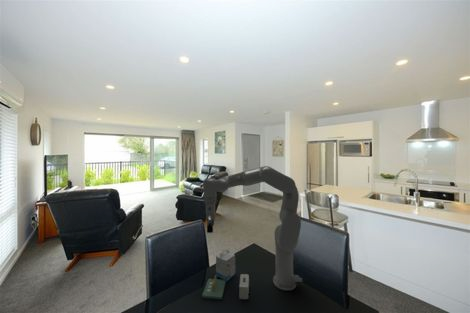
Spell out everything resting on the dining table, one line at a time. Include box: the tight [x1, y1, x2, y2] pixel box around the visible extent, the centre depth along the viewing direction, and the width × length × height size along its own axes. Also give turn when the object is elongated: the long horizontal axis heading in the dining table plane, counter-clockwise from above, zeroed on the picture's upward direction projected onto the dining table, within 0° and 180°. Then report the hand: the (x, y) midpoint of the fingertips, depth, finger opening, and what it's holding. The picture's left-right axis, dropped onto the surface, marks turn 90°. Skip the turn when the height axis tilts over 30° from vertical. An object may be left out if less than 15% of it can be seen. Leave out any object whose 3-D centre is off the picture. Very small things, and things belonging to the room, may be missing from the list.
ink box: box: [215, 249, 236, 282], centre depth 103 cm, size 9×8×13 cm
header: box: [201, 274, 227, 300], centre depth 91 cm, size 10×12×6 cm
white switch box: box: [238, 273, 250, 300], centre depth 89 cm, size 4×9×7 cm, turn 173°
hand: (210, 228), depth 100 cm, fingers open, 9 cm apart
